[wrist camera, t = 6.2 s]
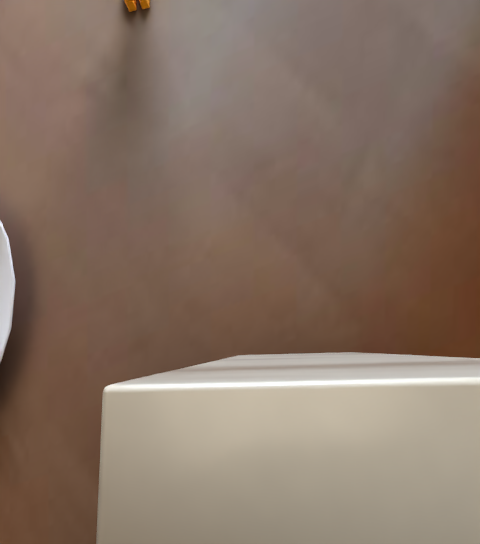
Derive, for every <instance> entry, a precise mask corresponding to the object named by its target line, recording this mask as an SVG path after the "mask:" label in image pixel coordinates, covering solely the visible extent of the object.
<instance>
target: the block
mask: <svg viewBox="0 0 480 544" xmlns="http://www.w3.org/2000/svg"><path fill="white" fill-rule="evenodd" d="M96 544H480V358H459V357H439V356H418V355H397V354H376V353H356V352H344V353H307V354H269V355H239V356H235V357H230V358H226V359H221V360H217V361H213V362H208V363H204V364H199V365H195V366H191V367H186V368H182V369H177V370H173V371H168V372H164V373H160V374H155V375H151V376H146V377H142V378H137V379H133V380H129V381H124V382H120V383H115V384H111V385H109V386H106V387H105V388H104V391H103V402H102V425H101V448H100V472H99V495H98V519H97V542H96Z"/></svg>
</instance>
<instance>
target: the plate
mask: <svg viewBox="0 0 480 544" xmlns="http://www.w3.org/2000/svg"><path fill="white" fill-rule="evenodd" d="M15 283H16V281H15V275H14V269H13V262H12V256H11V250H10V243H9V238H8V236H7V234H6V232H5V229H4V227H3V225H2V223H1V220H0V363H1V360H2V357H3V354H4V350H5V347H6V344H7V341H8V338H9V335H10V331H11V327H12V316H13V305H14V294H15Z"/></svg>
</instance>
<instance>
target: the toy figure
mask: <svg viewBox="0 0 480 544" xmlns="http://www.w3.org/2000/svg"><path fill="white" fill-rule="evenodd" d="M124 1H125V3H126V6H127V8H128V10H129V12H132V11H135V10H137V0H124ZM139 2H140V5H141V7H142V9H146V8H149V5H150V0H139Z"/></svg>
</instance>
